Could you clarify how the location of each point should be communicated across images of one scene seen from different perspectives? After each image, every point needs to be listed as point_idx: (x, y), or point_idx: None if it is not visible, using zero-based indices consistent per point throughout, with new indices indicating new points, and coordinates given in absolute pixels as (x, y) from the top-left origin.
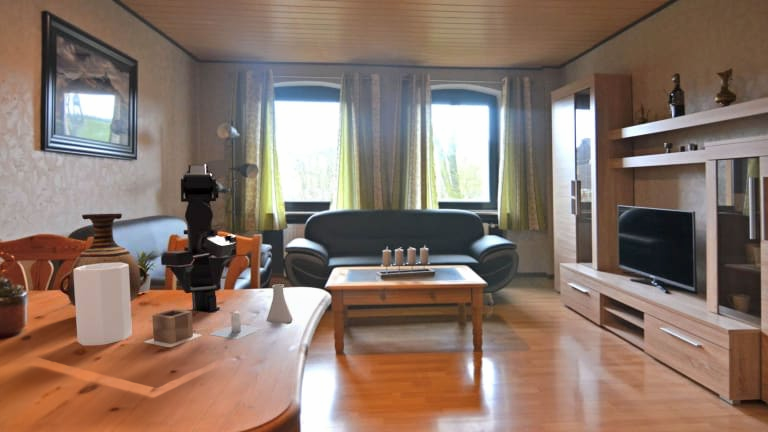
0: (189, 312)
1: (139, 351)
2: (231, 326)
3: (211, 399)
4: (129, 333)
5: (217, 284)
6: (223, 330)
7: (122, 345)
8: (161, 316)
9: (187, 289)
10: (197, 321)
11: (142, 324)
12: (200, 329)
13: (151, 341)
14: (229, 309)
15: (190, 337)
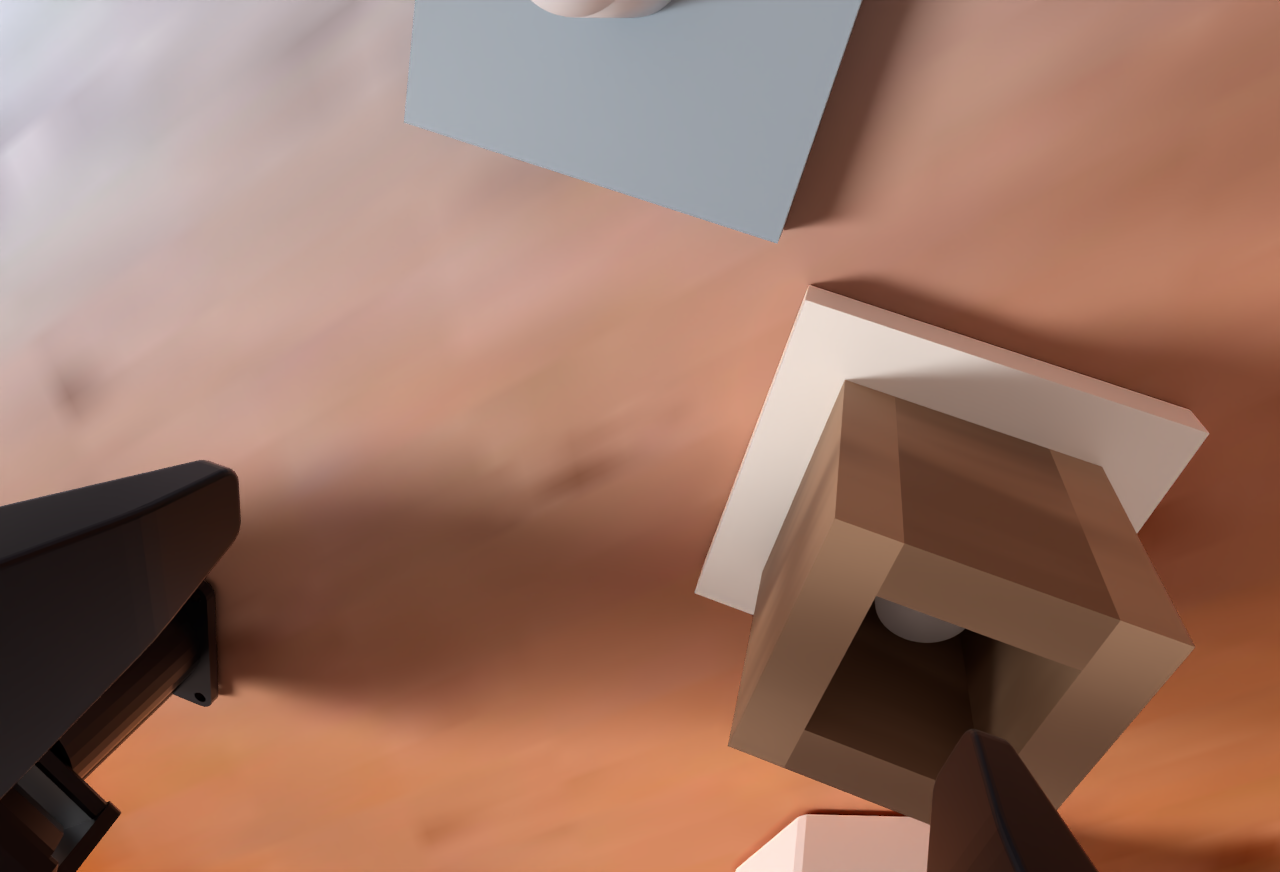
0: (875, 530)
1: None
2: (650, 3)
3: None
4: (845, 857)
5: (221, 479)
6: (632, 142)
7: None
8: (1079, 765)
9: (1056, 825)
10: (358, 560)
11: (516, 850)
12: (526, 450)
13: None
14: (32, 455)
15: (886, 384)
